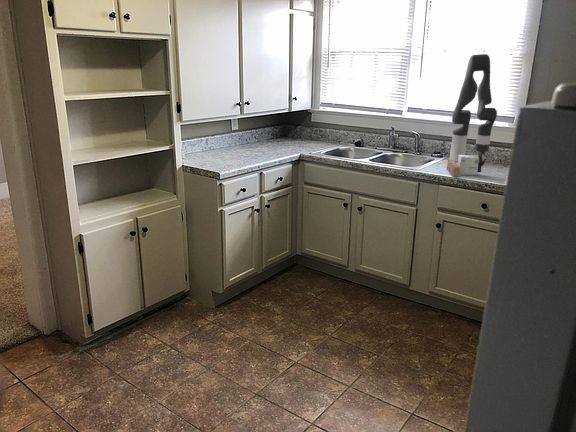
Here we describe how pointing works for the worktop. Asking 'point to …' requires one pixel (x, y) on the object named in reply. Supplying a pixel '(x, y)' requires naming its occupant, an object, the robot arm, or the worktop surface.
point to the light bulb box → (468, 164)
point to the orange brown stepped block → (453, 168)
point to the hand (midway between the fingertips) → (478, 171)
